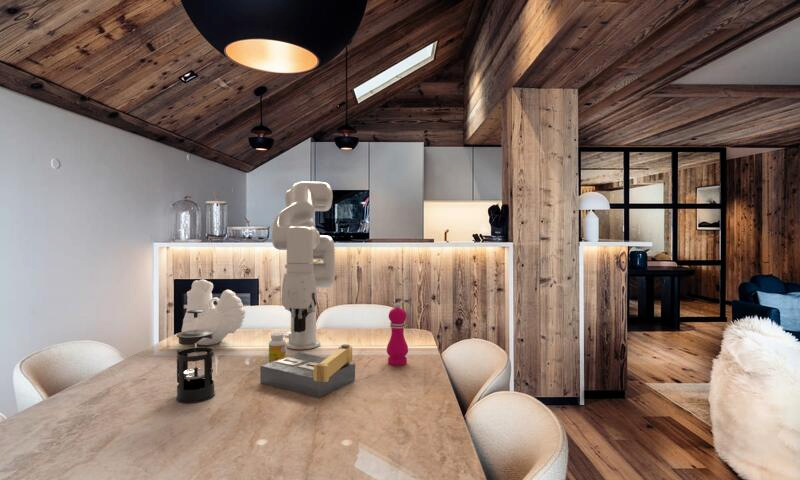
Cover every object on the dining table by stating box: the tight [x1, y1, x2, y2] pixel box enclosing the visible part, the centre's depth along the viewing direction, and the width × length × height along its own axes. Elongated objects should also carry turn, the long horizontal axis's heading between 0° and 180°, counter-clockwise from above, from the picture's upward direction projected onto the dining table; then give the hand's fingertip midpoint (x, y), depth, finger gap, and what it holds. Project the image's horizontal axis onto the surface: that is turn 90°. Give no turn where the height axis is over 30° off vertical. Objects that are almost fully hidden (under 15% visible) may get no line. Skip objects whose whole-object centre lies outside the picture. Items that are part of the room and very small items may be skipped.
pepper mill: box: [386, 302, 409, 367], centre depth 145 cm, size 7×7×20 cm
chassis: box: [259, 352, 356, 399], centre depth 127 cm, size 22×16×5 cm
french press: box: [175, 309, 216, 404], centre depth 115 cm, size 12×9×23 cm
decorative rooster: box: [181, 278, 246, 346], centre depth 167 cm, size 25×16×25 cm, turn 65°
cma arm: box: [314, 343, 353, 382], centre depth 119 cm, size 20×4×5 cm, turn 167°
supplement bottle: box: [268, 332, 287, 363], centre depth 144 cm, size 5×5×10 cm
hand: (299, 331), depth 127 cm, fingers closed
